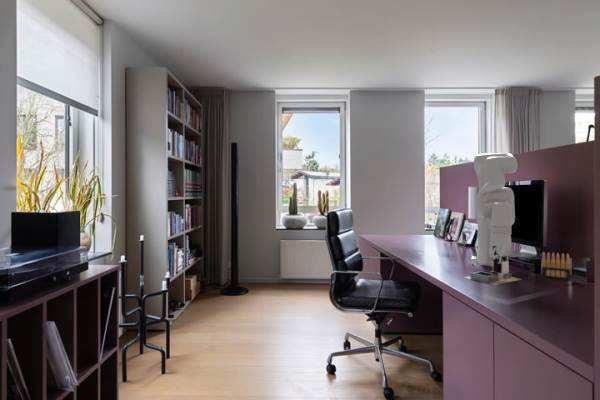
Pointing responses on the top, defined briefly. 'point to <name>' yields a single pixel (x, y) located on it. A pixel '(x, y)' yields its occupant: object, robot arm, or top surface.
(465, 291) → the top surface
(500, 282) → the board
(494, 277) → the frame
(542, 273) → the ammunition clip
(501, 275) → the plug
